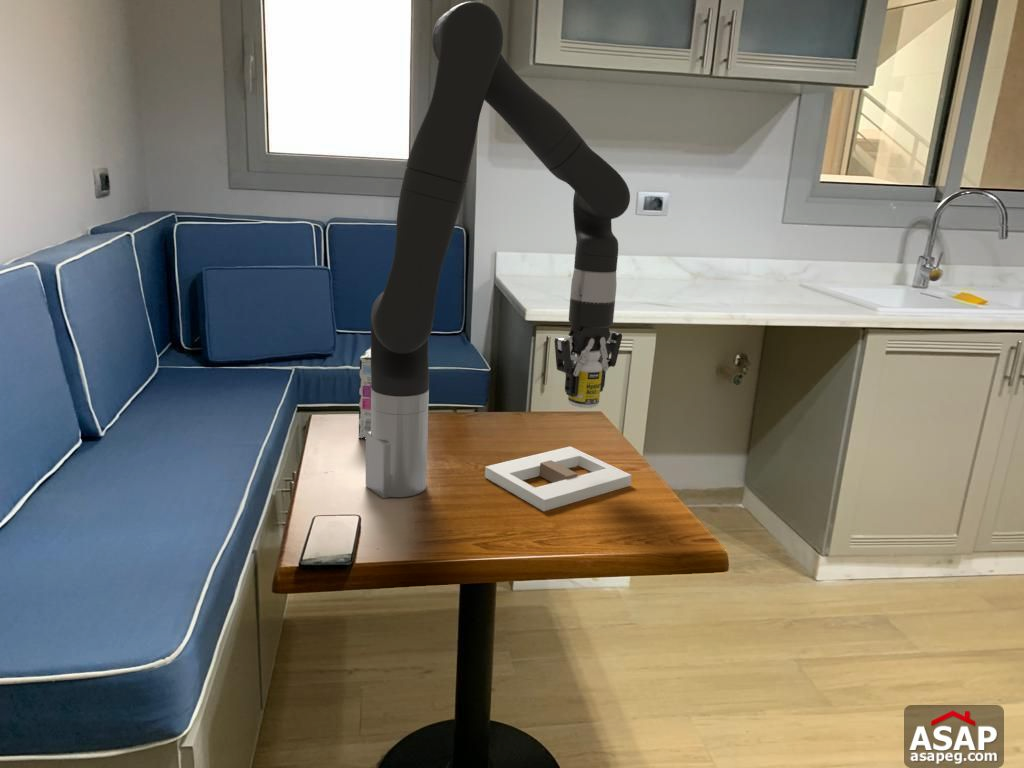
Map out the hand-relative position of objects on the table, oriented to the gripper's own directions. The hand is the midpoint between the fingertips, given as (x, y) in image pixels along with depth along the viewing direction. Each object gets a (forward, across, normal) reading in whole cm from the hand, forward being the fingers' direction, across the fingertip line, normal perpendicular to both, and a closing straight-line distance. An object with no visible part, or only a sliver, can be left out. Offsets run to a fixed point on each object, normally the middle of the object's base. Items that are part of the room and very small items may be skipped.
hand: (584, 392), depth 135 cm
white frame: (+16, -5, 0) cm, 16 cm away
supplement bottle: (+2, 0, 0) cm, 2 cm away
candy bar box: (+16, -20, +38) cm, 46 cm away
